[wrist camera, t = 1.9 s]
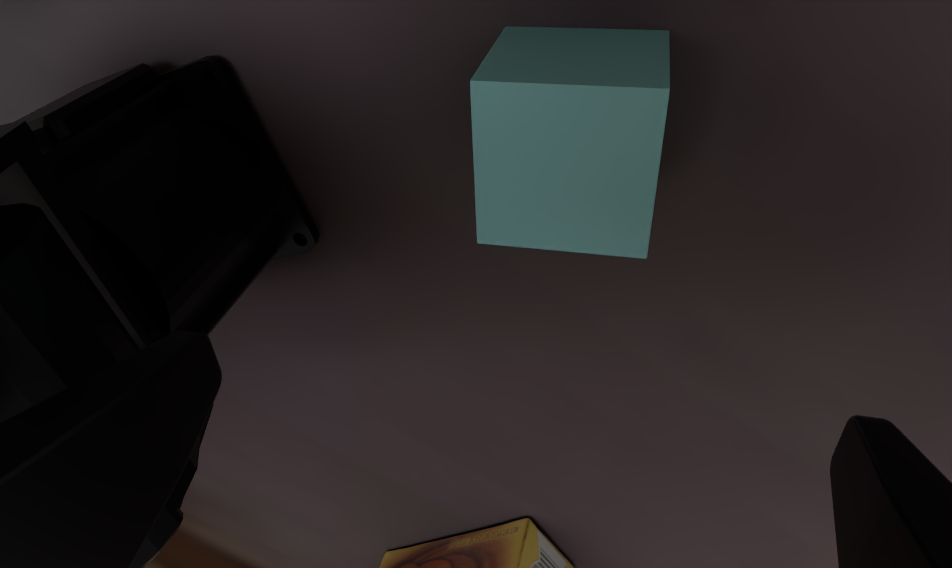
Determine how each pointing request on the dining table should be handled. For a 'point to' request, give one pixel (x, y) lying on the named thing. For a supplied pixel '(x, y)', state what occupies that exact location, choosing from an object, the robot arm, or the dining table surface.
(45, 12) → the dining table surface
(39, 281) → the robot arm
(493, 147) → the teal block
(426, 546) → the candy box
